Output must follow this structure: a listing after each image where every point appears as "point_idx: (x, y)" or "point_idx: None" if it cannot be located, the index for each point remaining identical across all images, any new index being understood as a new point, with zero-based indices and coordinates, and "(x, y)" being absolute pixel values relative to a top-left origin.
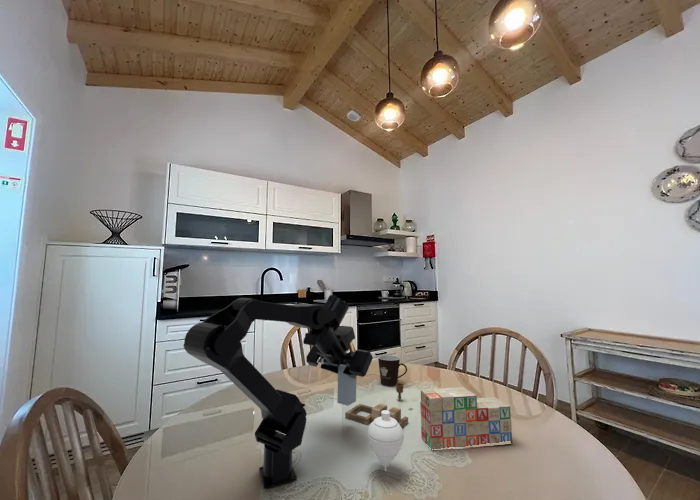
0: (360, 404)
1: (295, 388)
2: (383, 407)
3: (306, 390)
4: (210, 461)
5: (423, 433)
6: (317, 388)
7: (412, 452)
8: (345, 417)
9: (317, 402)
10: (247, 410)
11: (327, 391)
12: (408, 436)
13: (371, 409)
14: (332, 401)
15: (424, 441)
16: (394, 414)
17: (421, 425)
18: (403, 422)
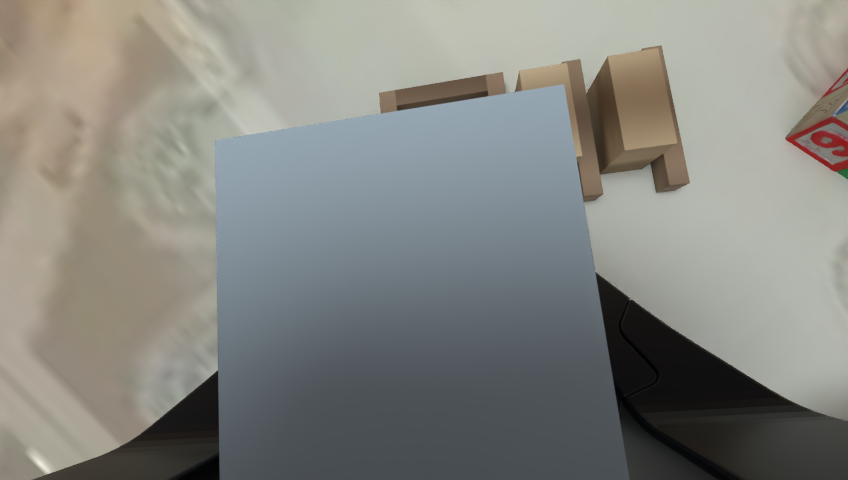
0: (387, 96)
1: (5, 149)
2: (570, 100)
3: (60, 129)
4: None
5: (839, 142)
6: (84, 75)
7: (833, 273)
8: None
9: (189, 190)
10: (7, 470)
11: (144, 67)
12: (730, 167)
13: (459, 97)
14: (235, 133)
15: (820, 159)
16: (672, 127)
17: (841, 115)
18: (669, 101)
